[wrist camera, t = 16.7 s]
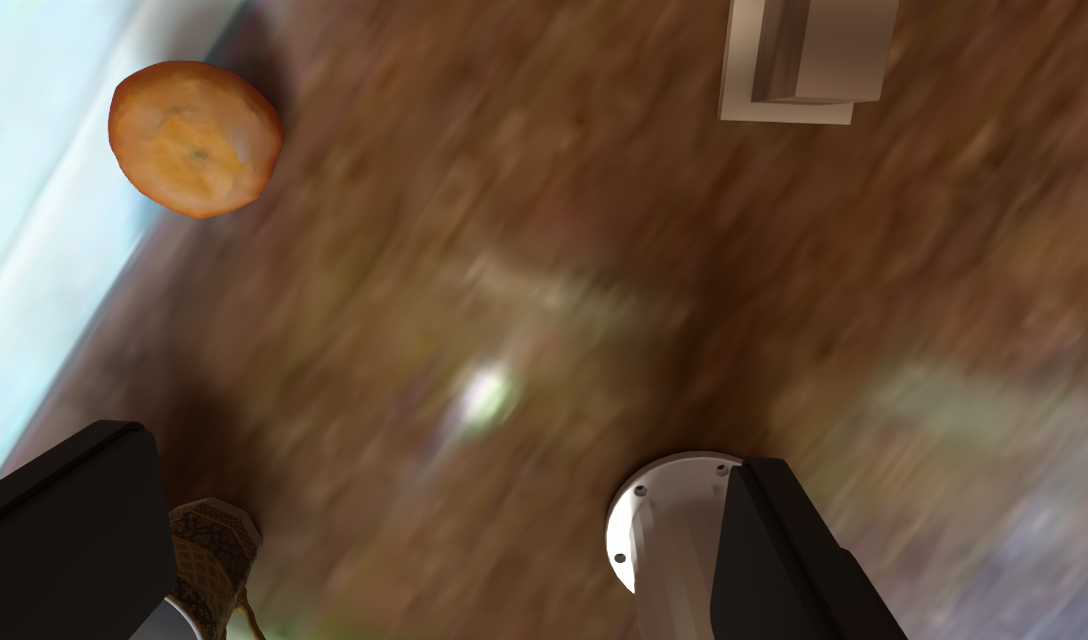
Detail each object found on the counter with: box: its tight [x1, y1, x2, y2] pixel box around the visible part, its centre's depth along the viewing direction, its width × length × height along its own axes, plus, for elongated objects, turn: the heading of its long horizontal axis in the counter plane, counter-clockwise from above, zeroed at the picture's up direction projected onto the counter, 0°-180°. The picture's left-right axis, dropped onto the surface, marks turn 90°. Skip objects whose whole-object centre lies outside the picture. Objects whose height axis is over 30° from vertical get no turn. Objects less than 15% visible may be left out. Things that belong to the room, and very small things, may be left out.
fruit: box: [108, 61, 284, 219], centre depth 33 cm, size 8×8×8 cm
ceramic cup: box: [129, 497, 266, 640], centre depth 40 cm, size 13×10×10 cm
